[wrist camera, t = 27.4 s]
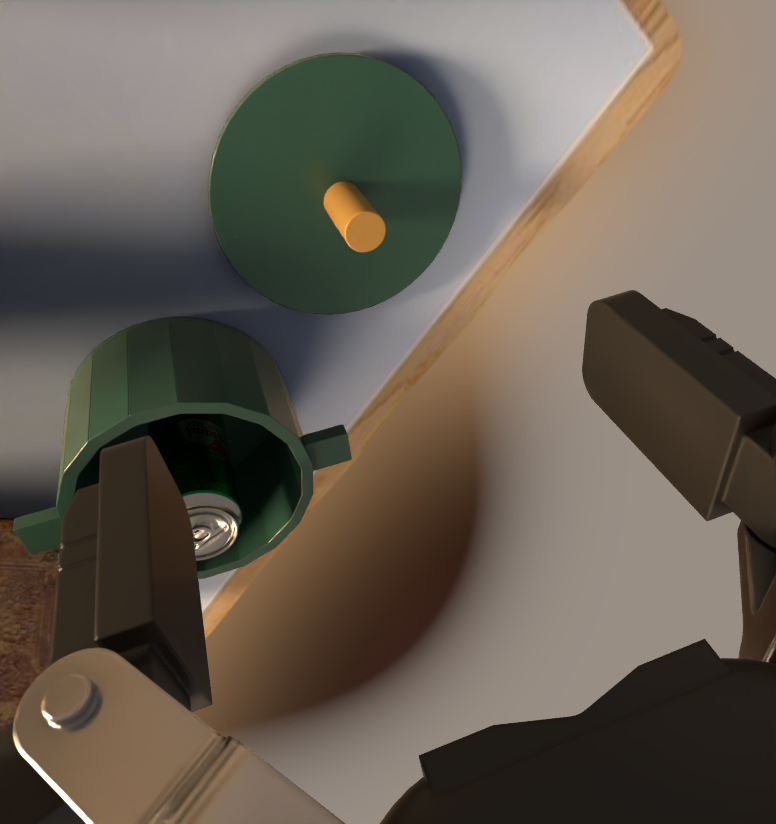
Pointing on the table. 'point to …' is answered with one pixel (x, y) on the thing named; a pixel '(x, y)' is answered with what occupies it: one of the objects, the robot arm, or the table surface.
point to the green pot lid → (334, 183)
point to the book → (23, 617)
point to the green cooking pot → (192, 394)
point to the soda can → (202, 477)
